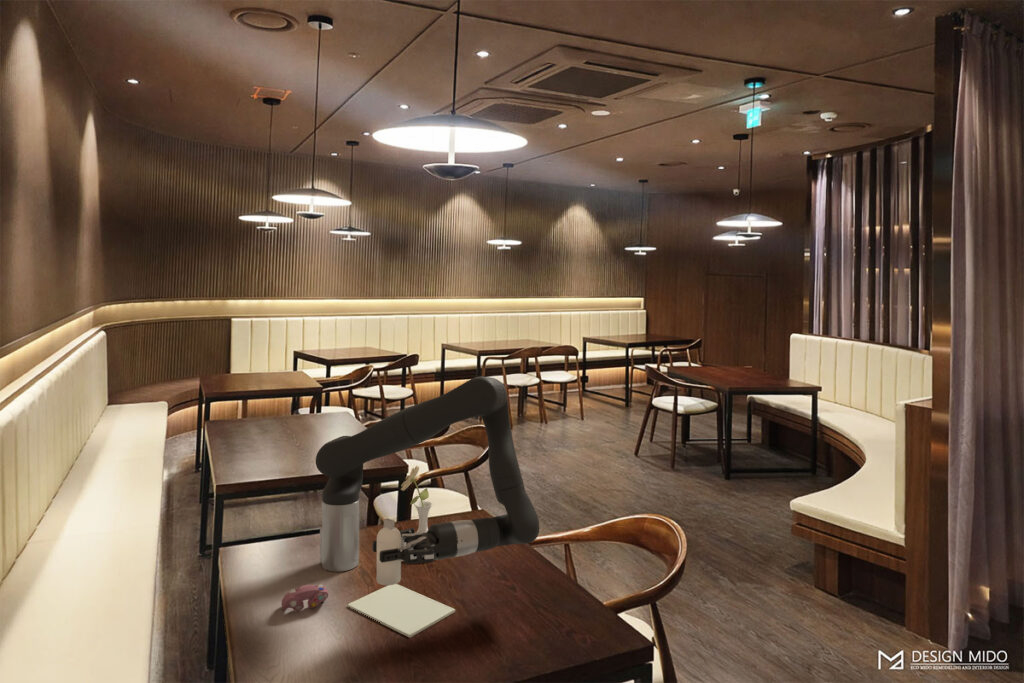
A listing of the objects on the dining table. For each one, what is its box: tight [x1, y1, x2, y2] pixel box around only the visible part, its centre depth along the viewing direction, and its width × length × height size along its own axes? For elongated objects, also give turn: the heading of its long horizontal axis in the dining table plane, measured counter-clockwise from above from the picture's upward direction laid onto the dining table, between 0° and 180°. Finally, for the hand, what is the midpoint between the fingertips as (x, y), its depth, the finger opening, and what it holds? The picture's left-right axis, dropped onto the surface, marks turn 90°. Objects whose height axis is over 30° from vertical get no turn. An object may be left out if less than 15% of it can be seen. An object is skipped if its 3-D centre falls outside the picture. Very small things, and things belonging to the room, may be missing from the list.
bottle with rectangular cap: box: [376, 517, 402, 586], centre depth 136 cm, size 5×5×13 cm
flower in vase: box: [400, 465, 434, 546], centre depth 176 cm, size 13×11×25 cm
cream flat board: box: [347, 583, 456, 639], centre depth 147 cm, size 20×14×1 cm
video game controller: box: [281, 583, 329, 612], centre depth 146 cm, size 10×5×7 cm, turn 119°
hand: (376, 551), depth 135 cm, fingers closed on bottle with rectangular cap, 5 cm apart
